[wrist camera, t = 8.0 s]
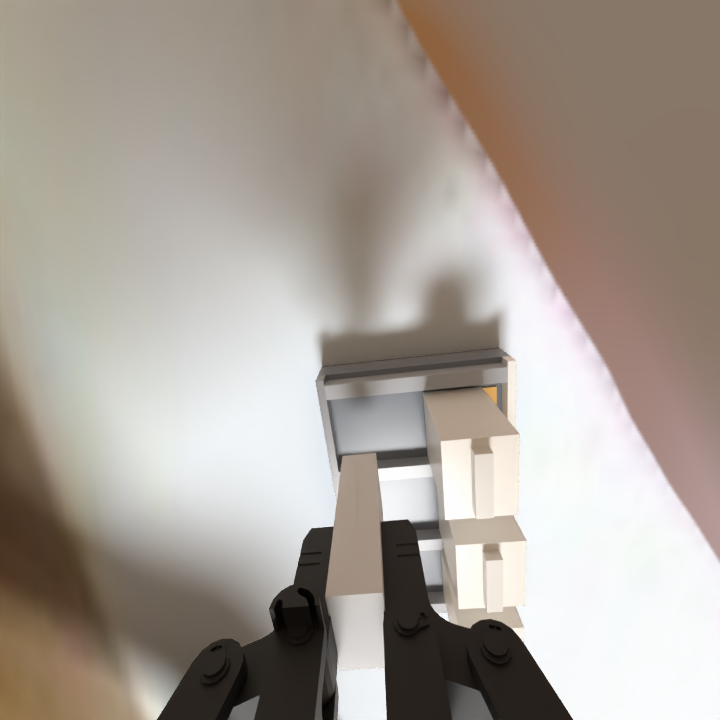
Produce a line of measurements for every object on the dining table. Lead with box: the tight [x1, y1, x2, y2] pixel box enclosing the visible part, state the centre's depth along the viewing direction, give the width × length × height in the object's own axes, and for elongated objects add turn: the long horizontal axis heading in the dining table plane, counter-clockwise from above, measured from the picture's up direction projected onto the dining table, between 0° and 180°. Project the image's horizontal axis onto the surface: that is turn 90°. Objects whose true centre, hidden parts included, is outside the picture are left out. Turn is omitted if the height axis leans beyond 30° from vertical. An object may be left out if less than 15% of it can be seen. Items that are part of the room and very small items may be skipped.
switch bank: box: [316, 348, 516, 613], centre depth 21 cm, size 10×17×2 cm, turn 7°
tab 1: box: [423, 387, 520, 520], centre depth 16 cm, size 3×4×5 cm
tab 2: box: [437, 491, 526, 613], centre depth 17 cm, size 3×4×5 cm
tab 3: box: [441, 550, 524, 641], centre depth 19 cm, size 3×4×5 cm
